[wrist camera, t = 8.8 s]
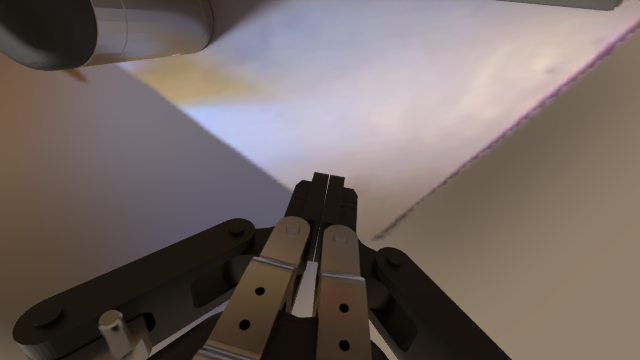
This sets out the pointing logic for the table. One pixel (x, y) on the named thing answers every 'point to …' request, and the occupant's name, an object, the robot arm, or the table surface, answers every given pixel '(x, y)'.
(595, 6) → the mat
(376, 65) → the table surface
